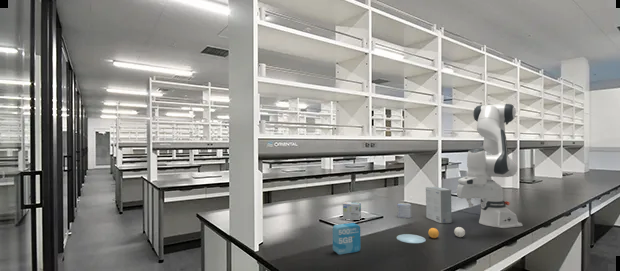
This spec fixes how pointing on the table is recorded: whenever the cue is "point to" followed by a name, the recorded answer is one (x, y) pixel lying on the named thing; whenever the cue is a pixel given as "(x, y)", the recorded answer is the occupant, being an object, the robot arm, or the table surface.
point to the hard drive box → (438, 204)
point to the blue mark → (411, 238)
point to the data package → (346, 238)
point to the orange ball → (433, 233)
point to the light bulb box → (352, 210)
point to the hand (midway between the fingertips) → (477, 206)
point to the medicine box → (404, 210)
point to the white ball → (459, 232)
